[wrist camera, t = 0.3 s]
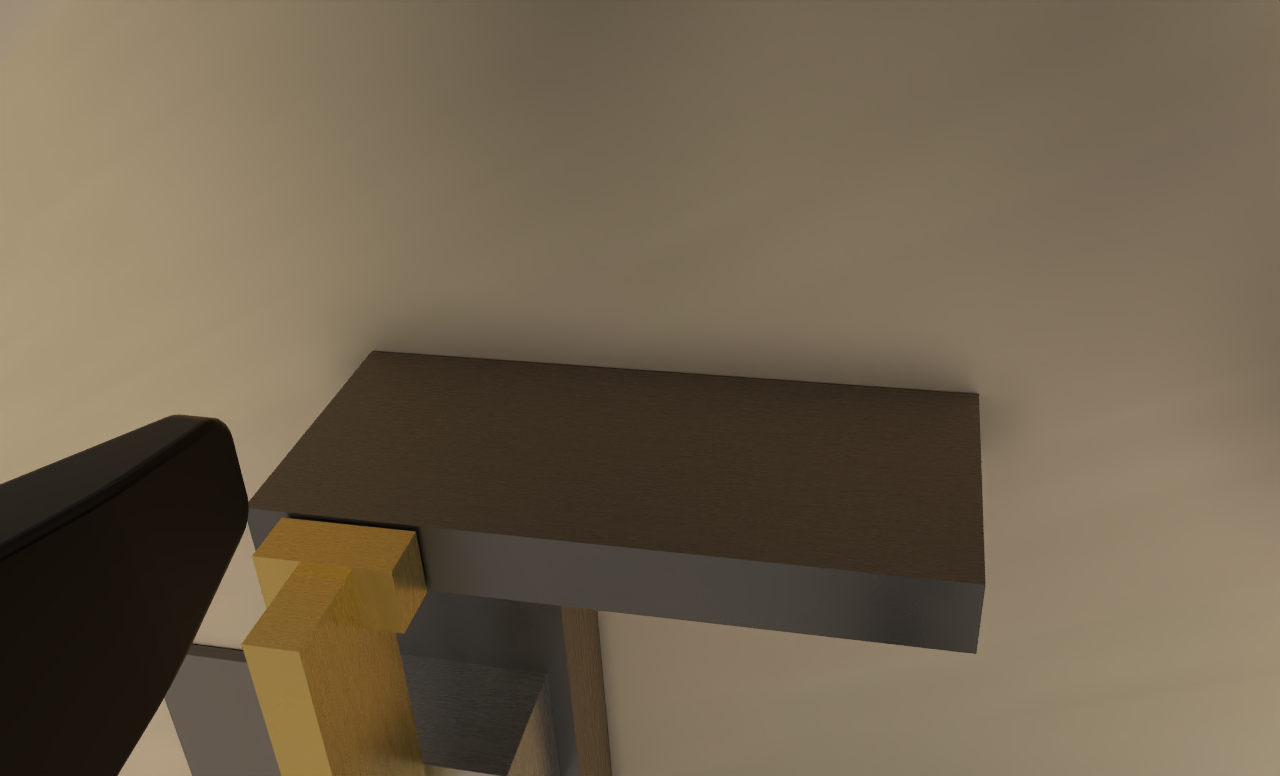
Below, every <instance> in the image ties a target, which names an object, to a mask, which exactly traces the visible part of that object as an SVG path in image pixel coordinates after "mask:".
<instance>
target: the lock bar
mask: <svg viewBox="0 0 1280 776" xmlns="http://www.w3.org/2000/svg"><path fill="white" fill-rule="evenodd" d="M252 558H253V561H254V565H255V569H256V572H257V576H258V579H259V583H260V586H261V590H262V593H263V597H264V600H265V604H266V608H267V609H266V611H265V612H264V613H263V615H262V616H261V618H260V619H259V620H258V622H257V623H256V625H255V626H254V627H253V629H252V630H251V632H250V633H249V635H248V636H247V637H246V639H245V640H244V642H243V643H242V648H243V651H244V654H245V658H246V661H247V664H248V667H249V671H250V674H251V677H252V681H253V684H254V687H255V690H256V694H257V697H258V700H259V704H260V707H261V710H262V714H263V717H264V720H265V723H266V727H267V730H268V733H269V737H270V740H271V743H272V747H273V750H274V753H275V756H276V760H277V763H278V766H279V770H280V773H281V776H426V773H425V769H424V764H423V759H422V754H421V750H420V745H419V740H418V735H417V730H416V726H415V721H414V716H413V711H412V707H411V702H410V697H409V692H408V688H407V683H406V678H405V673H404V669H403V664H402V659H401V654H400V650H399V645H398V640H397V635H396V633H403V634H404V633H405V631H406V629H407V628H408V626H409V624H410V622H411V620H412V619H413V617H414V615H415V613H416V611H417V610H418V608H419V606H420V604H421V602H422V601H423V599H424V597H425V595H426V593H427V589H426V583H425V578H424V573H423V567H422V562H421V557H420V551H419V546H418V541H417V535H416V532H414V531H405V530H395V529H386V528H376V527H367V526H357V525H348V524H338V523H329V522H319V521H310V520H300V519H290V518H281V519H280V520H279V522H278V523H277V524H276V526H275V527H274V528H273V529H272V531H271V532H270V533H269V535H268V536H267V537H266V539H265V540H264V541H263V543H262V544H261V545H260V546H259V548H258V549H257V550H256V552H255V553H254V554H253V556H252Z"/></svg>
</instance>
